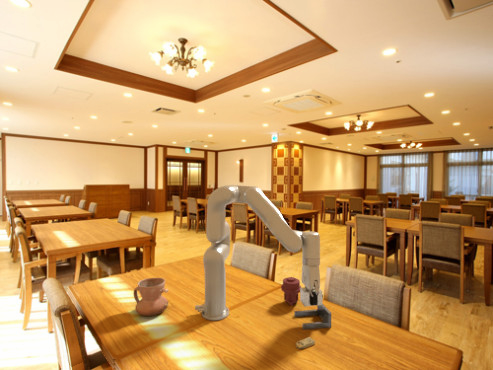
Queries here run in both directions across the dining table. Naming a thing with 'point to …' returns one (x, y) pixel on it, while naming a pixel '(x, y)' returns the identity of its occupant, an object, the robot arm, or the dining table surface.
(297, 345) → the brass key tag
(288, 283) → the mechanical component
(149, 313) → the ceramic jug
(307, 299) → the aluminium block
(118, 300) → the dining table surface
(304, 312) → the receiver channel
